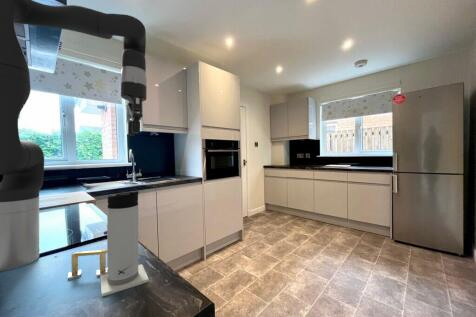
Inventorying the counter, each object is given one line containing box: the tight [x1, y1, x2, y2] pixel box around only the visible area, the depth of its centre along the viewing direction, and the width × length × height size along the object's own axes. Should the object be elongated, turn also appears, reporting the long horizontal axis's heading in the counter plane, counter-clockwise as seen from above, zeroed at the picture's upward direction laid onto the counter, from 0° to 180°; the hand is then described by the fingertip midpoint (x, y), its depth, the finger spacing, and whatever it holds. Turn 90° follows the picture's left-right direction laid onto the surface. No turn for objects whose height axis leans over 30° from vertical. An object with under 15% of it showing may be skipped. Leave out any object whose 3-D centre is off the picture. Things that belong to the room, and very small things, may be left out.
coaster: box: [99, 263, 150, 298], centre depth 48 cm, size 9×8×1 cm
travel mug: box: [106, 190, 139, 285], centre depth 48 cm, size 6×7×20 cm
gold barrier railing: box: [67, 248, 108, 281], centre depth 51 cm, size 13×5×6 cm, turn 125°
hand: (133, 134), depth 67 cm, fingers open, 8 cm apart
